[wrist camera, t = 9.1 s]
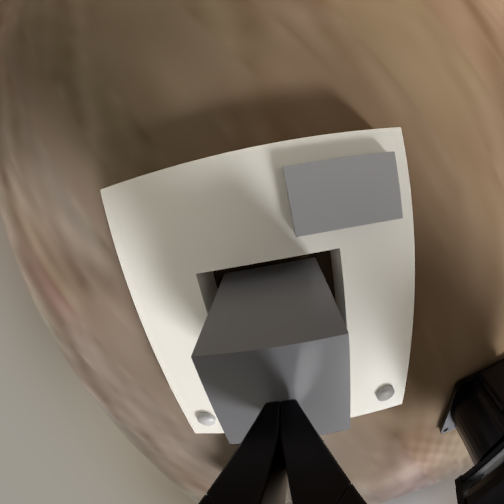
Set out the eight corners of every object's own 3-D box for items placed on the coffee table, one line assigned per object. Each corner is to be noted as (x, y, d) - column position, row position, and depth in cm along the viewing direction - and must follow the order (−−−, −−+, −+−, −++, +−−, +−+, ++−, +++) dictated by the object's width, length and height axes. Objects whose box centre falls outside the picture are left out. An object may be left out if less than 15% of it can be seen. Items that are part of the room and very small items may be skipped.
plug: (321, 323, 14) (349, 429, 8) (246, 336, 15) (229, 443, 8) (312, 250, 13) (348, 333, 6) (227, 265, 14) (190, 356, 7)
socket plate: (389, 377, 15) (405, 412, 12) (202, 405, 17) (192, 441, 14) (378, 132, 11) (408, 125, 8) (127, 184, 13) (90, 191, 10)
